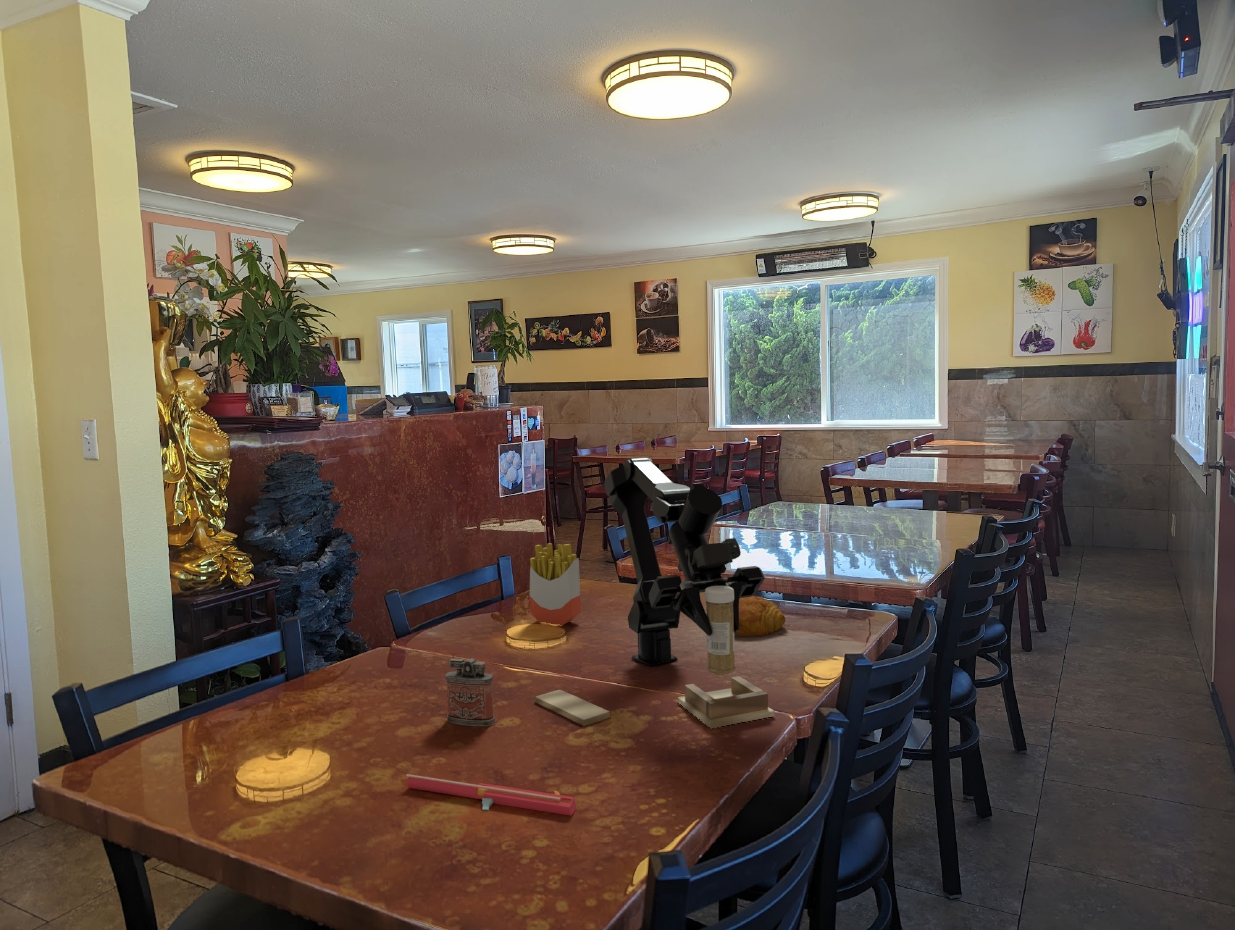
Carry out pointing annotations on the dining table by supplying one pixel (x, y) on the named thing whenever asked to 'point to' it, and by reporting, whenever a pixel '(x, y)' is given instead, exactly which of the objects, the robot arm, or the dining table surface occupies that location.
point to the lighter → (469, 693)
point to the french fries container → (554, 585)
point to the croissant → (758, 617)
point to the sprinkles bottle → (720, 629)
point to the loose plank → (572, 707)
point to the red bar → (496, 794)
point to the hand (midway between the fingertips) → (723, 632)
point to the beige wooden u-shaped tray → (727, 703)
